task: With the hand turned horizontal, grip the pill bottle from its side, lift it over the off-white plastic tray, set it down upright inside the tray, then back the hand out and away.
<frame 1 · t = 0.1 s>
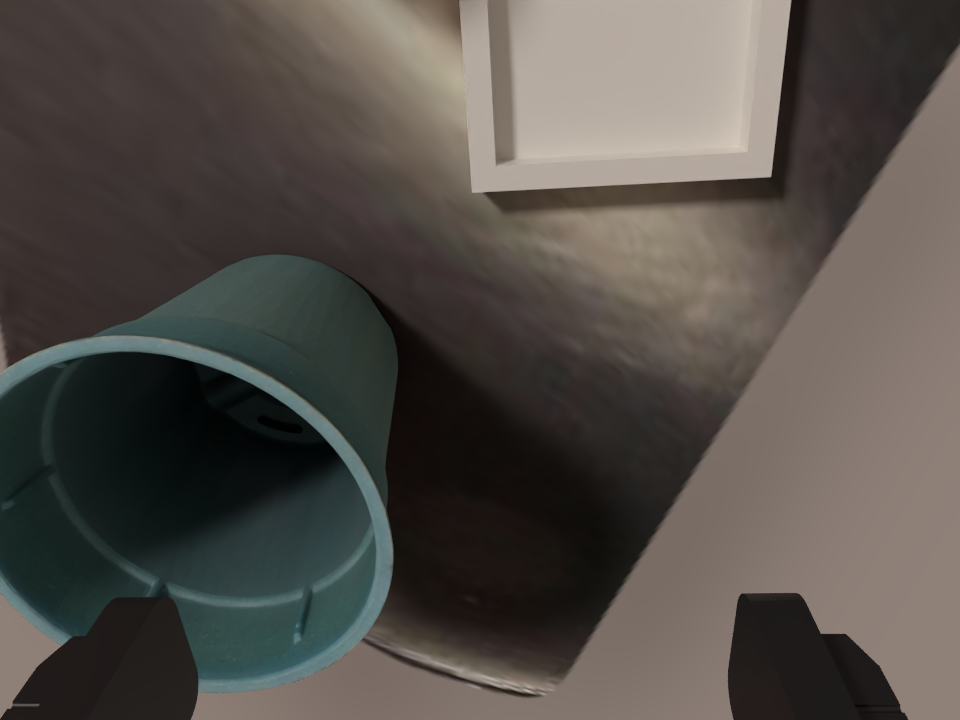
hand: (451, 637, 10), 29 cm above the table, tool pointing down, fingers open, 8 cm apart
tray: (617, 20, 33), on the table
flower pot: (292, 350, 42), on the table
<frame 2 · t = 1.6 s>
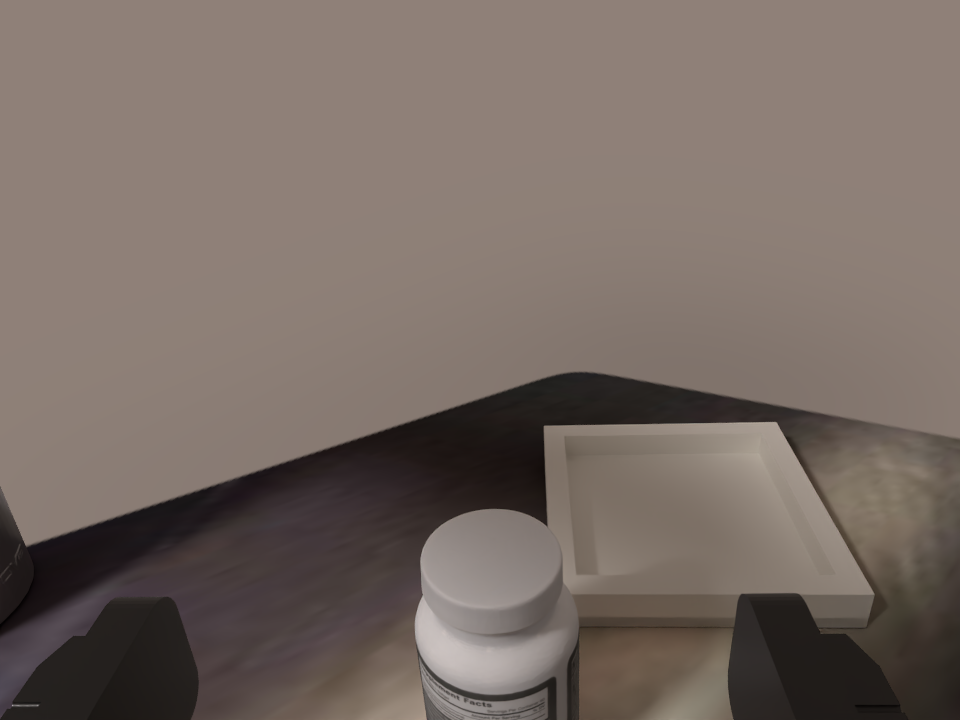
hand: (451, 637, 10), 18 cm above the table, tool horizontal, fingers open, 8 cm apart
tray: (677, 525, 39), on the table
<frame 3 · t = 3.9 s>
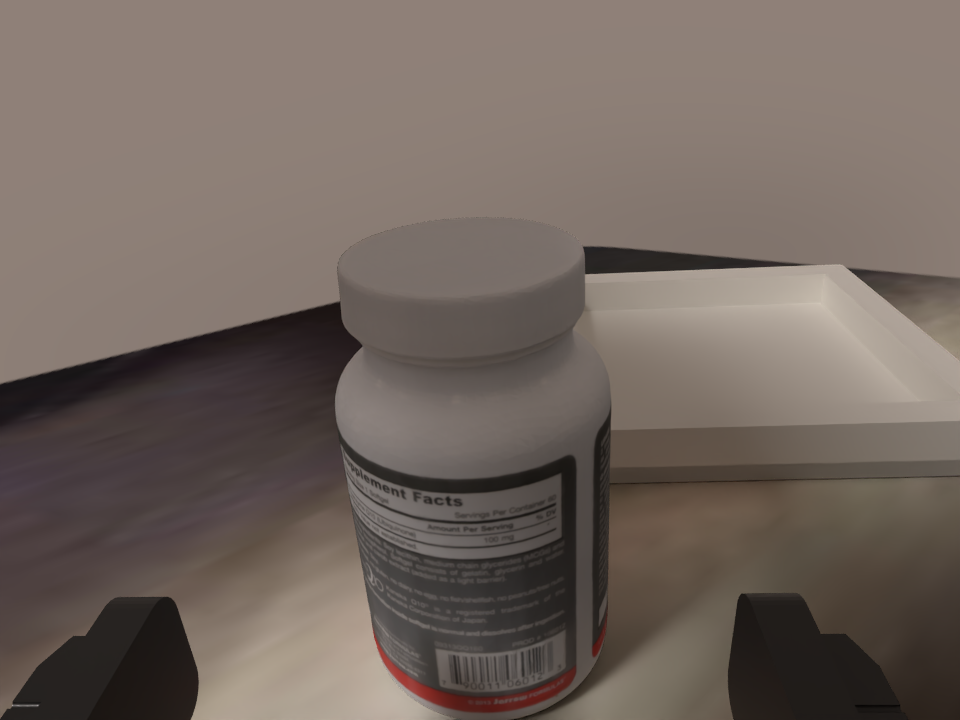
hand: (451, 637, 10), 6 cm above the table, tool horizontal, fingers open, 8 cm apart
tray: (723, 376, 29), on the table
pill bottle: (490, 636, 18), on the table
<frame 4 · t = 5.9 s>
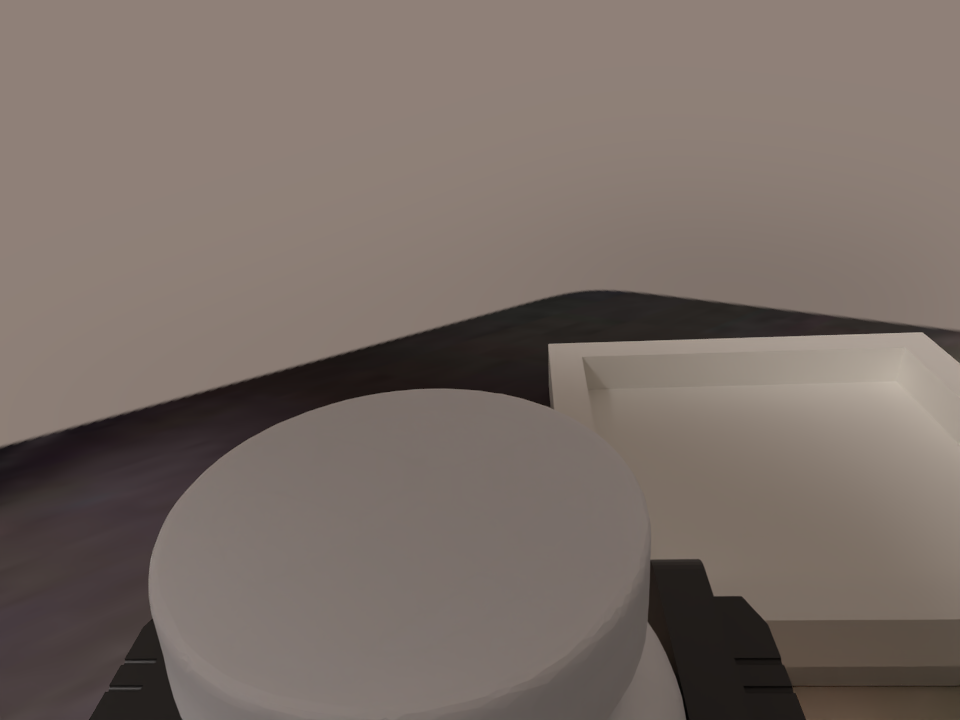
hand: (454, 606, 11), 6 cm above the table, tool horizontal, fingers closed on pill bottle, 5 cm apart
tray: (785, 493, 22), on the table
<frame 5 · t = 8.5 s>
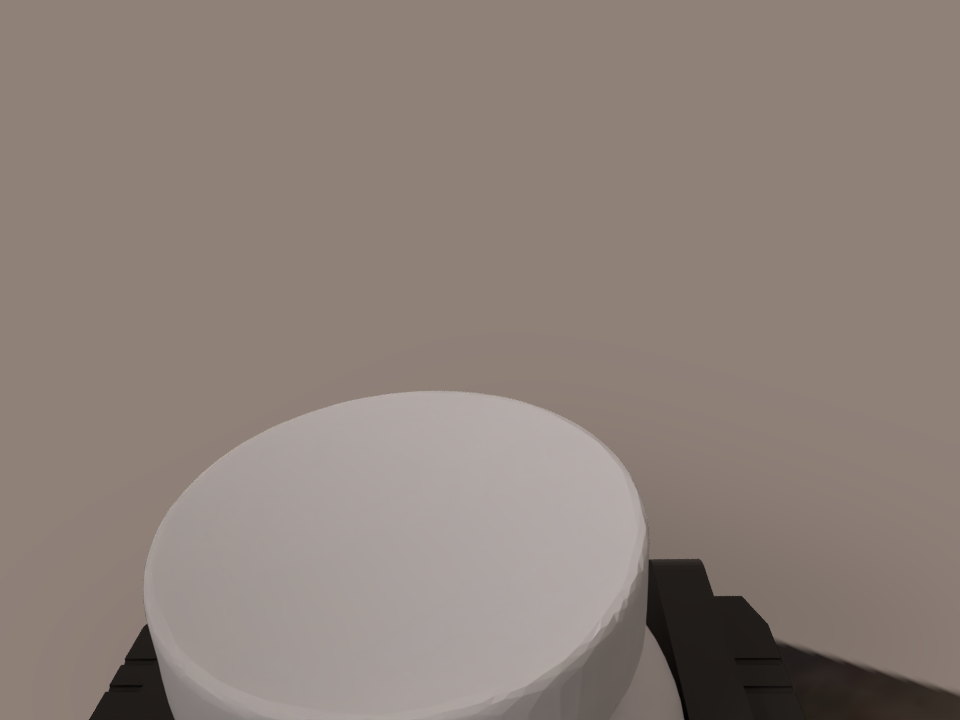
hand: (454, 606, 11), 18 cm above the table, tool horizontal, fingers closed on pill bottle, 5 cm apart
when the fingers open (8 cm above the table, at t = 11.3 s): pill bottle stays where it is, resting on tray.
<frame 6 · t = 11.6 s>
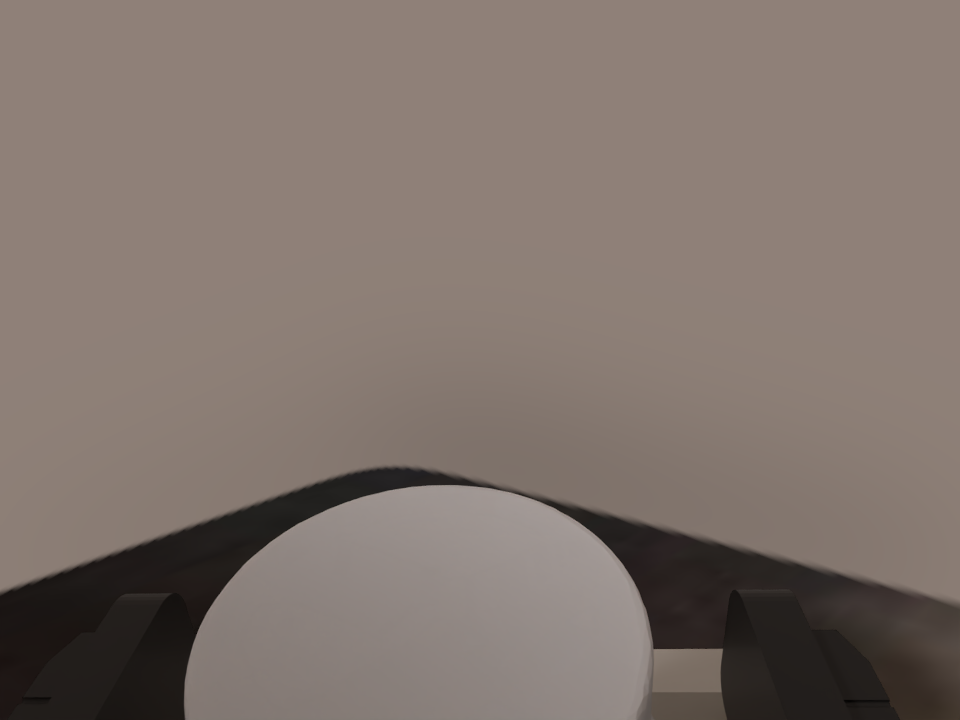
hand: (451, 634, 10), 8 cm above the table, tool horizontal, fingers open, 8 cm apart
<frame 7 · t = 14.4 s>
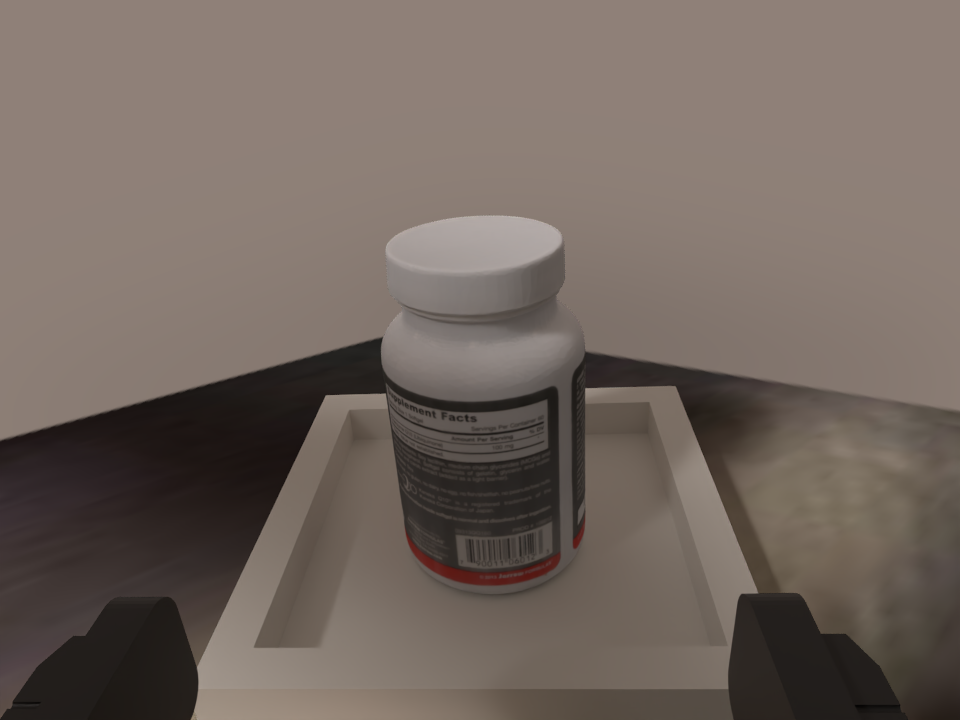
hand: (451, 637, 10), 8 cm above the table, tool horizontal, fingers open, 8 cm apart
tray: (495, 548, 24), on the table
pill bottle: (495, 541, 24), resting on tray
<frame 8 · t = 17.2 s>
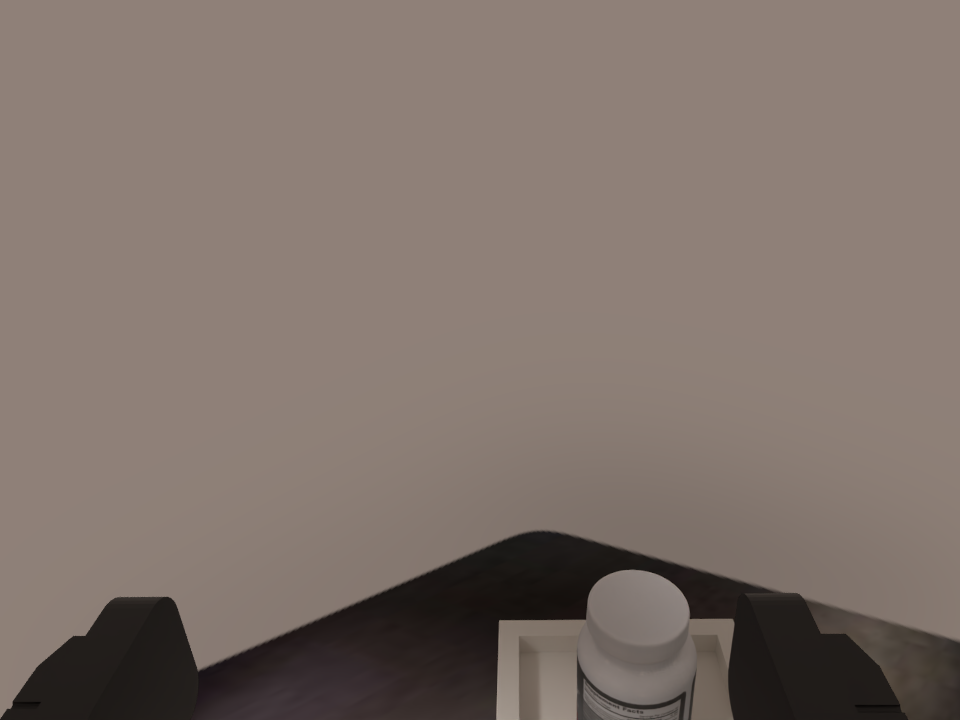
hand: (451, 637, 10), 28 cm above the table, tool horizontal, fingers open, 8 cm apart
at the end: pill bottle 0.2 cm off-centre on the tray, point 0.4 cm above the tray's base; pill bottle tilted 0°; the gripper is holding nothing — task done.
